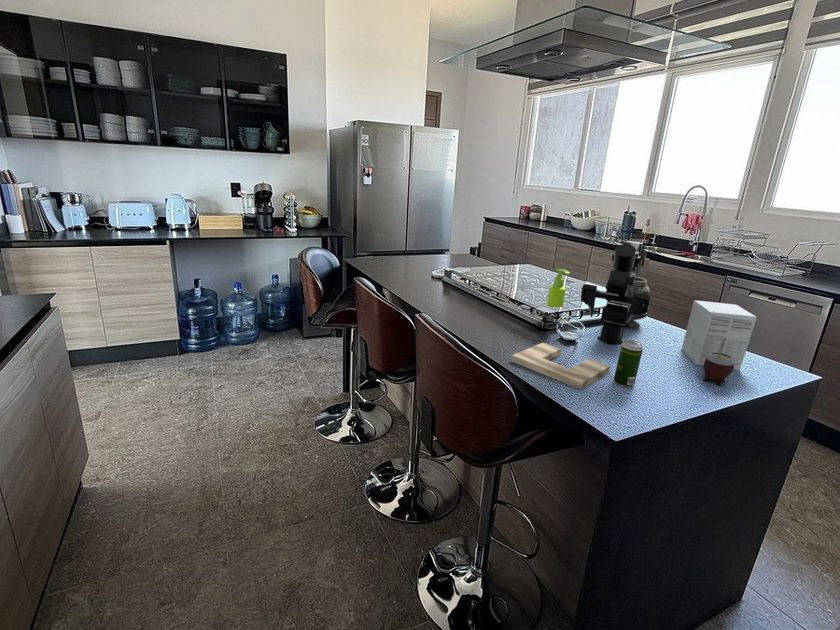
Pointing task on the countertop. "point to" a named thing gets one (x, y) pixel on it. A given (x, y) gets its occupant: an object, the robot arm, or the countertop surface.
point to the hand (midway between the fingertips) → (607, 319)
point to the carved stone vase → (638, 287)
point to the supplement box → (718, 331)
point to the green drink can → (628, 363)
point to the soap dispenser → (557, 290)
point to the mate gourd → (718, 366)
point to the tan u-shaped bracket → (560, 366)
